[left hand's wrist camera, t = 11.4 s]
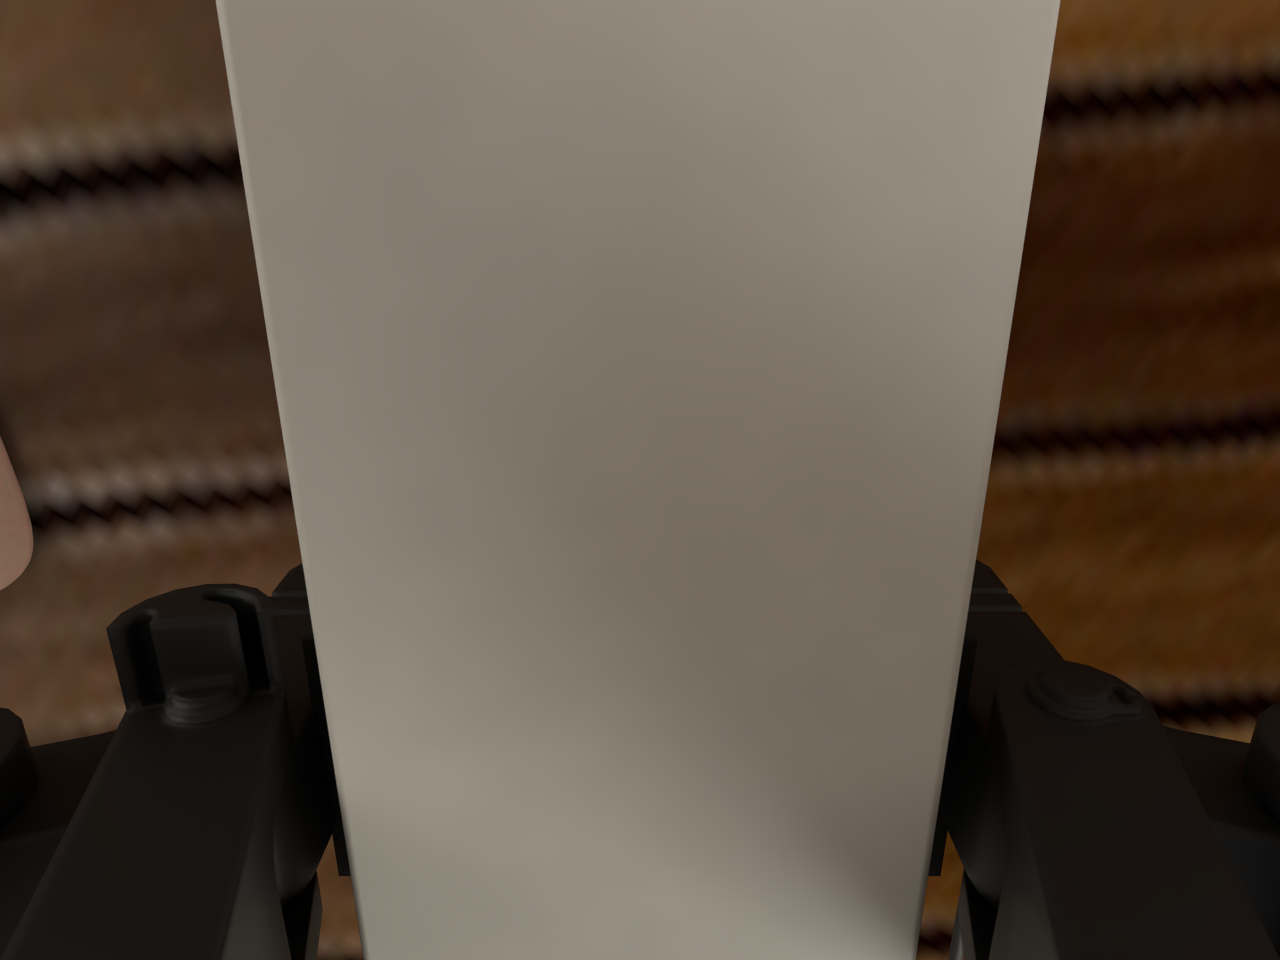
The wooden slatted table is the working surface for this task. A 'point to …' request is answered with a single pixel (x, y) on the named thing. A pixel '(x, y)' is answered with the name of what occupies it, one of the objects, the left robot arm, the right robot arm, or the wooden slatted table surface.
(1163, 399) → the wooden slatted table surface
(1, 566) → the anatomical model
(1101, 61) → the wooden slatted table surface
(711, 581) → the bar
